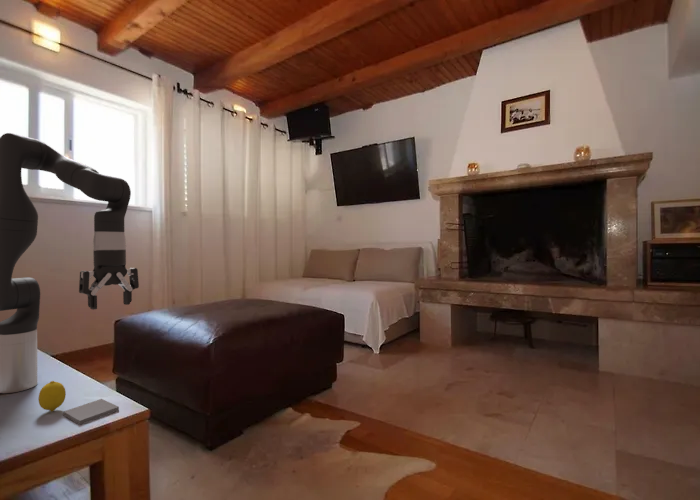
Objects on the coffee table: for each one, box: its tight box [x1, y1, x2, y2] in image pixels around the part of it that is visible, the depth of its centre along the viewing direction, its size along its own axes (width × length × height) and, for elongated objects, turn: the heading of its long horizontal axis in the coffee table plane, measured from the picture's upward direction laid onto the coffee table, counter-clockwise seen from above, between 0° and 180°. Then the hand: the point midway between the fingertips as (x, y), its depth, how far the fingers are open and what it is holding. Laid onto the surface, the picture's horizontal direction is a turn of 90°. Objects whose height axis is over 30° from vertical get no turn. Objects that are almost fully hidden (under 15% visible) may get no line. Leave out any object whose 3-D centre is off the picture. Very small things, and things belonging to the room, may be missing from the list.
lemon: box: [37, 380, 66, 412], centre depth 96 cm, size 6×6×8 cm
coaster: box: [62, 398, 120, 426], centre depth 95 cm, size 9×9×1 cm
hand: (110, 306), depth 101 cm, fingers open, 8 cm apart
